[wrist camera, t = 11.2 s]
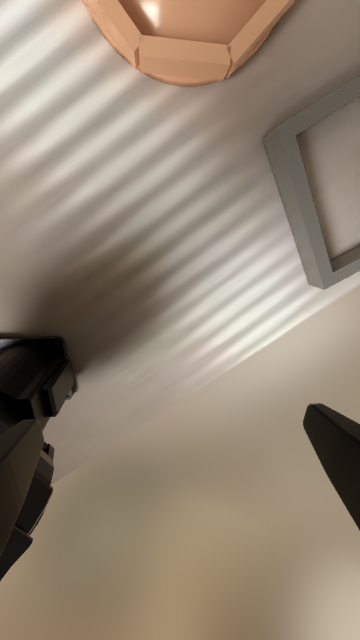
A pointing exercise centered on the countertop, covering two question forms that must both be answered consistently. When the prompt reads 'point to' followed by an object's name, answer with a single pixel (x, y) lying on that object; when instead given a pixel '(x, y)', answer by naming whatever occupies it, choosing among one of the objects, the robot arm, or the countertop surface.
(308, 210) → the charcoal tray
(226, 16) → the terracotta dish
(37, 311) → the countertop surface
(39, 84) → the countertop surface
